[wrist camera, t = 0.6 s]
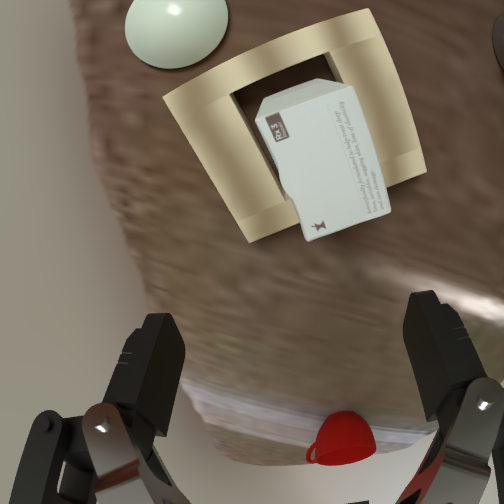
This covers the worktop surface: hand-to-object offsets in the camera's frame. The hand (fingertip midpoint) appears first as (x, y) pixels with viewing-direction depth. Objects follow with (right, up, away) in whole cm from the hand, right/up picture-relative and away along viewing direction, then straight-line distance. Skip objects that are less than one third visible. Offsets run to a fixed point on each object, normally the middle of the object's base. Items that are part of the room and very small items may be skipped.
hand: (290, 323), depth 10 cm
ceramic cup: (+17, -35, +52) cm, 65 cm away
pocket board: (+4, +15, +19) cm, 24 cm away
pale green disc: (-8, +24, +13) cm, 28 cm away
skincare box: (+4, +15, +19) cm, 24 cm away
